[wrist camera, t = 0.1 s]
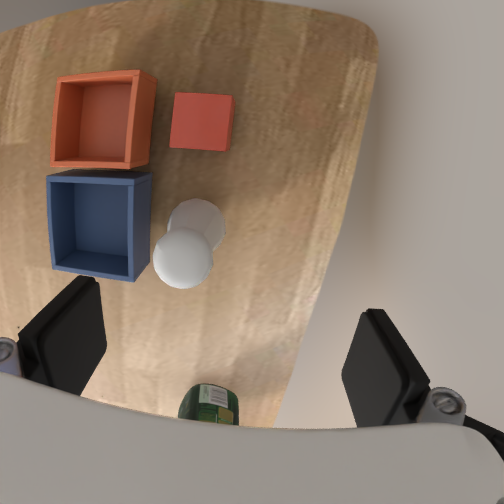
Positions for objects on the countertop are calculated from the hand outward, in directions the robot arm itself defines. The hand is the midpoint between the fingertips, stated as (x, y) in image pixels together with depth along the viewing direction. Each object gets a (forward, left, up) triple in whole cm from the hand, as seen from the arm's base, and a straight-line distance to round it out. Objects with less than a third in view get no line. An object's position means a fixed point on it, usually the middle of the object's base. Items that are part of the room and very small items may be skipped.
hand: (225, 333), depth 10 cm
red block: (-8, -5, -24) cm, 25 cm away
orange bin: (-8, -15, -24) cm, 29 cm away
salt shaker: (+3, -5, -24) cm, 24 cm away
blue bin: (+3, -15, -24) cm, 28 cm away
